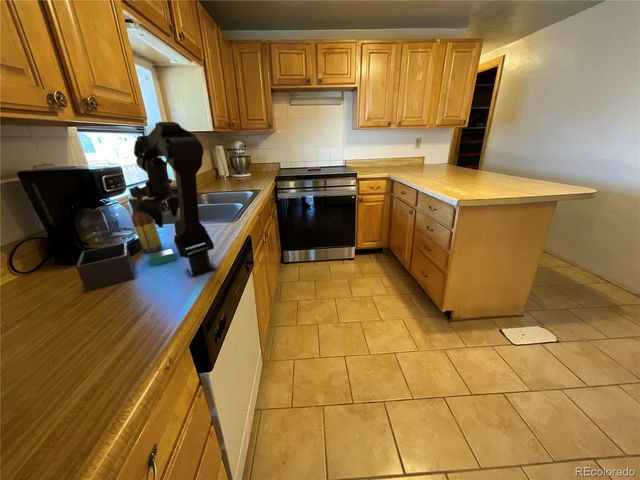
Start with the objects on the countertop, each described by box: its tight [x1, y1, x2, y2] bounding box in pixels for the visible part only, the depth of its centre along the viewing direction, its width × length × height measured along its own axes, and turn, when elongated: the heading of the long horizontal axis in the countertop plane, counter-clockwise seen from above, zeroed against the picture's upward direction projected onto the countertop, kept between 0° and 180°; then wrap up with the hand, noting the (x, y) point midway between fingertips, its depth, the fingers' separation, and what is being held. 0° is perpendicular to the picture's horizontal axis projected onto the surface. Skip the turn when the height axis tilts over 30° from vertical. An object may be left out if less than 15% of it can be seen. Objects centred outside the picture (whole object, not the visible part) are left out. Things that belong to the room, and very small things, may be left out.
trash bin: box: [75, 242, 135, 292], centre depth 79 cm, size 13×11×8 cm
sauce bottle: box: [127, 197, 163, 254], centre depth 95 cm, size 7×6×20 cm
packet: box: [148, 248, 176, 267], centre depth 89 cm, size 7×5×2 cm
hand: (167, 221), depth 92 cm, fingers open, 9 cm apart
